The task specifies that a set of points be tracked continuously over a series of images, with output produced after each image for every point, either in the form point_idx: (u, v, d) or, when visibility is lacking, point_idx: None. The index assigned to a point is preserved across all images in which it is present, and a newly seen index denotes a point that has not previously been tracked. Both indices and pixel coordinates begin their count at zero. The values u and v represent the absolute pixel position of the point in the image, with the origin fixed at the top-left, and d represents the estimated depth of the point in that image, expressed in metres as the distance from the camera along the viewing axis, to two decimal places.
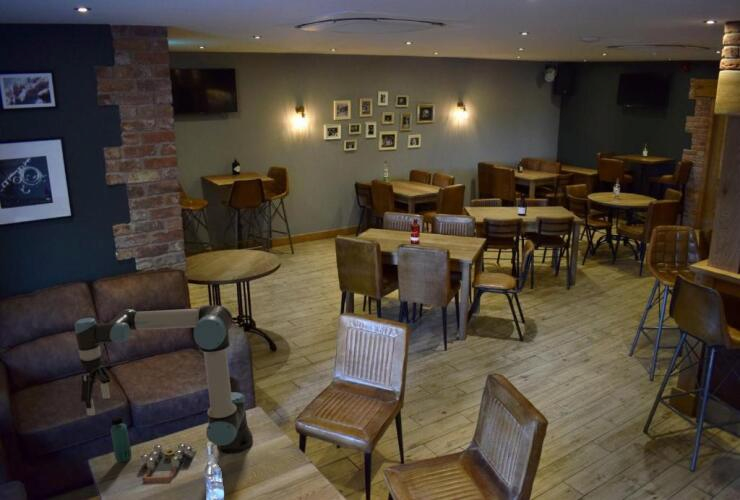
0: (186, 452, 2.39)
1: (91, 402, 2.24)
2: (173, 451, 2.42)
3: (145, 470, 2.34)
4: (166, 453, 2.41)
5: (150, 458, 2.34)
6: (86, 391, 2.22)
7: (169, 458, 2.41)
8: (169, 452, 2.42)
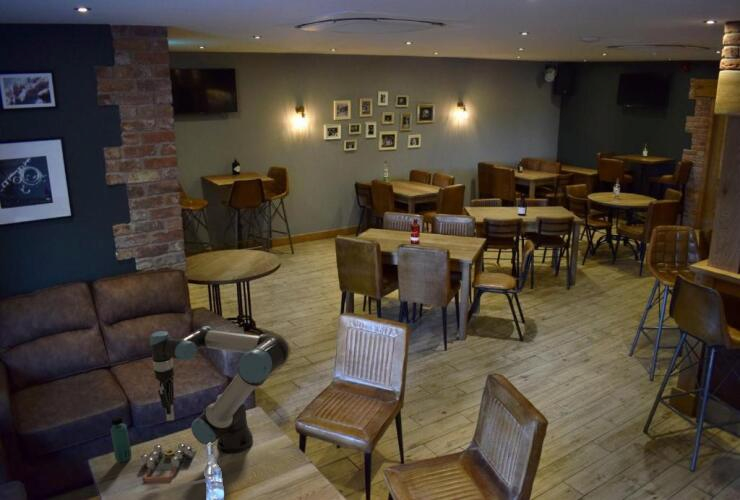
0: (186, 452, 2.39)
1: (171, 408, 2.43)
2: (173, 451, 2.42)
3: (145, 470, 2.34)
4: (166, 453, 2.41)
5: (150, 458, 2.34)
6: (165, 401, 2.39)
7: (169, 458, 2.41)
8: (169, 452, 2.42)
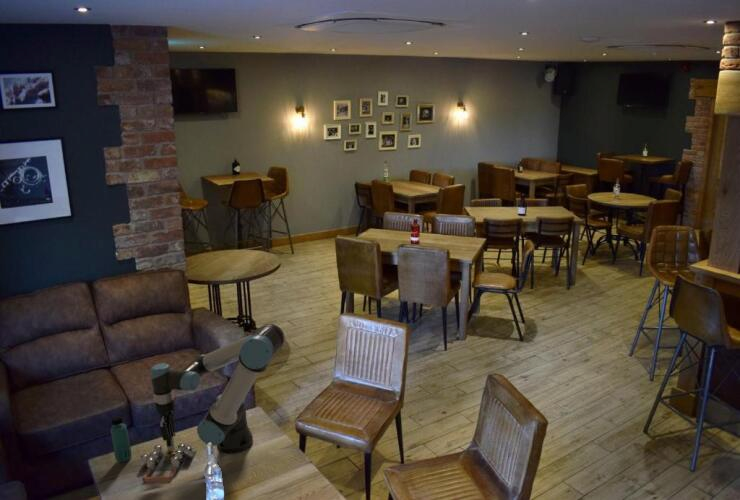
0: (186, 452, 2.39)
1: (171, 440, 2.42)
2: (173, 452, 2.42)
3: (145, 470, 2.34)
4: (166, 454, 2.40)
5: (150, 458, 2.34)
6: (166, 434, 2.38)
7: (169, 459, 2.40)
8: (169, 453, 2.41)
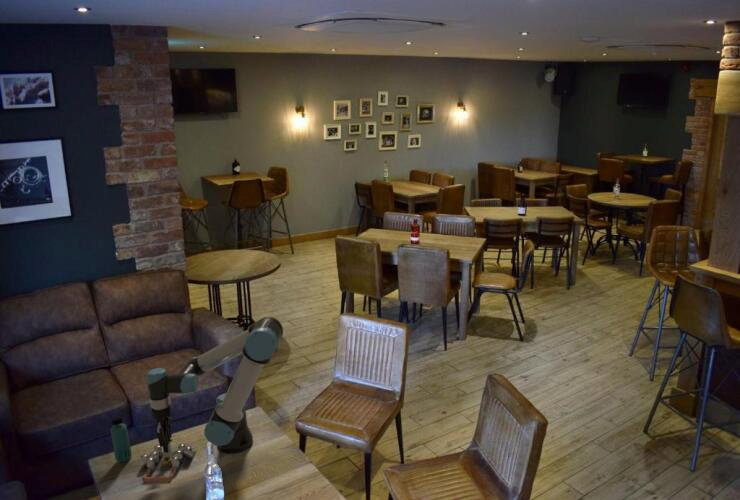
0: (186, 452, 2.39)
1: (168, 446, 2.38)
2: (170, 458, 2.38)
3: (145, 470, 2.34)
4: (163, 461, 2.36)
5: (150, 458, 2.34)
6: (163, 440, 2.33)
7: (167, 465, 2.36)
8: (167, 459, 2.37)
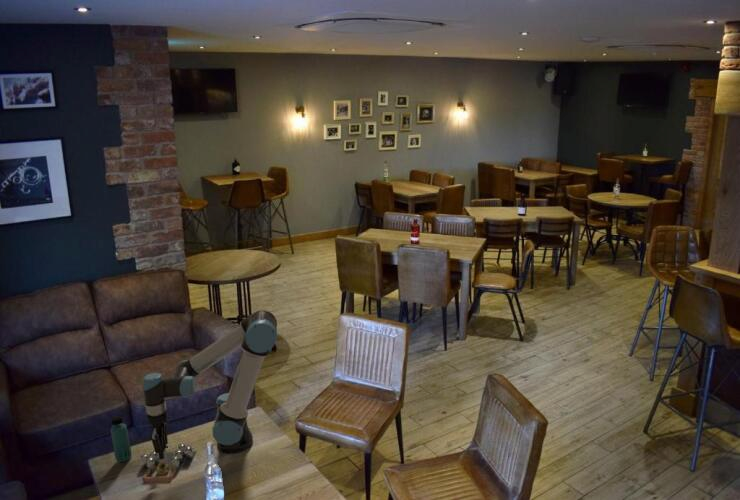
0: (186, 452, 2.39)
1: (164, 453, 2.33)
2: (166, 465, 2.33)
3: (145, 470, 2.34)
4: (159, 468, 2.31)
5: (150, 458, 2.34)
6: (158, 446, 2.29)
7: (163, 473, 2.31)
8: (162, 467, 2.32)
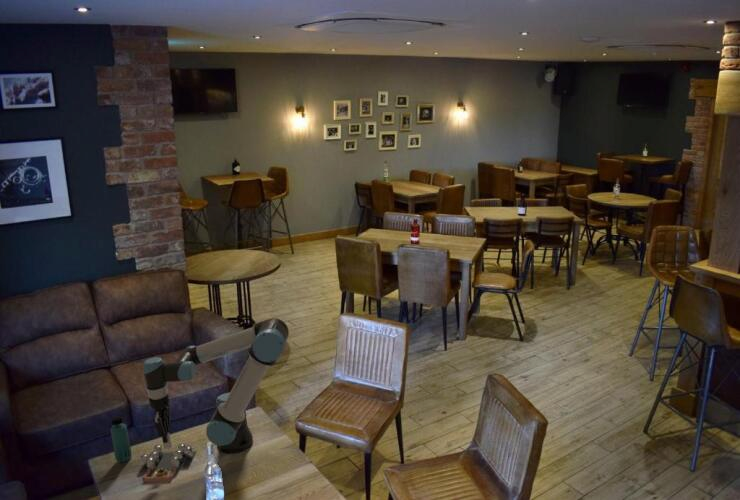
0: (186, 452, 2.39)
1: (167, 436, 2.36)
2: (164, 470, 2.31)
3: (145, 470, 2.34)
4: (157, 473, 2.29)
5: (150, 458, 2.34)
6: (161, 430, 2.31)
7: None
8: (160, 471, 2.30)
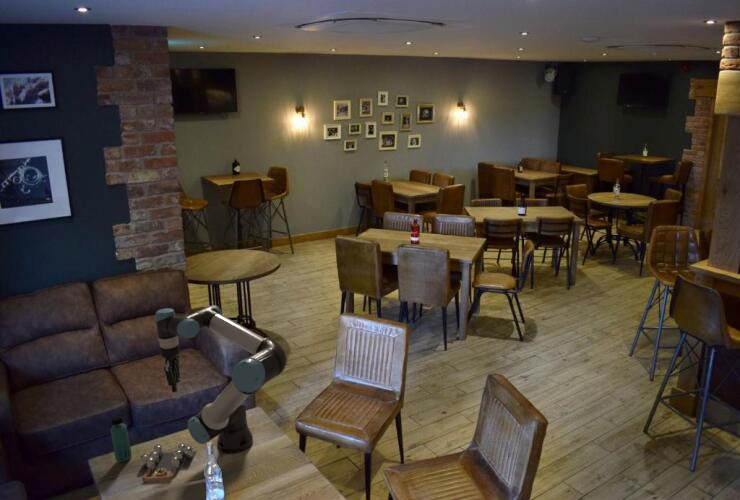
0: (186, 452, 2.39)
1: (176, 386, 2.43)
2: (164, 470, 2.31)
3: (145, 470, 2.34)
4: (157, 473, 2.29)
5: (150, 458, 2.34)
6: (171, 379, 2.38)
7: None
8: (160, 471, 2.30)
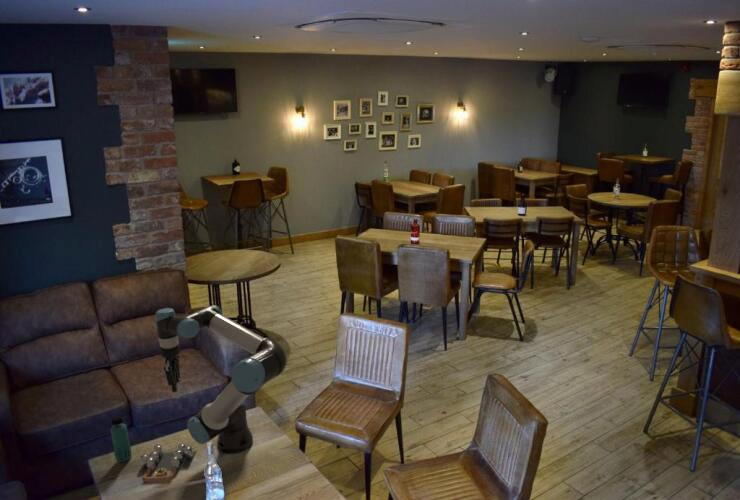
0: (186, 452, 2.39)
1: (176, 386, 2.43)
2: (164, 470, 2.31)
3: (145, 470, 2.34)
4: (157, 473, 2.29)
5: (150, 458, 2.34)
6: (171, 378, 2.38)
7: None
8: (160, 471, 2.30)
